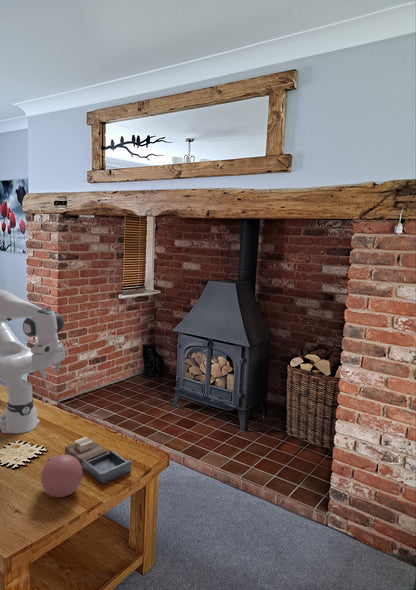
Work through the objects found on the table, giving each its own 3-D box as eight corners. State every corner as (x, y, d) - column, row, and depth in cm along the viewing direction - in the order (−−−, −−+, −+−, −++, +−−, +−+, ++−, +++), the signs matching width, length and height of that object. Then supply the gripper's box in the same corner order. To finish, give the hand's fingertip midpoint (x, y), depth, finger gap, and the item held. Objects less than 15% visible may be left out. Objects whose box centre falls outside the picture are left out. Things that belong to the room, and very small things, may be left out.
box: (82, 468, 185) (82, 458, 184) (109, 456, 195) (109, 446, 194) (103, 485, 174) (103, 473, 173) (130, 471, 184) (131, 461, 184)
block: (74, 447, 196) (74, 440, 196) (86, 442, 201) (86, 436, 200) (81, 452, 192) (81, 445, 192) (93, 447, 197) (93, 441, 196)
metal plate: (65, 452, 197) (65, 446, 196) (88, 443, 205) (88, 438, 205) (83, 467, 186) (83, 460, 186) (107, 457, 195) (107, 451, 194)
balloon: (71, 472, 182) (71, 438, 180) (88, 497, 166) (88, 460, 164) (33, 483, 173) (32, 448, 171) (47, 511, 157) (46, 473, 155)
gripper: (55, 340, 204) (58, 368, 206) (28, 350, 185) (31, 381, 186) (67, 340, 203) (69, 368, 204) (40, 350, 183) (43, 381, 185)
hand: (51, 374), depth 195 cm, fingers open, 8 cm apart
